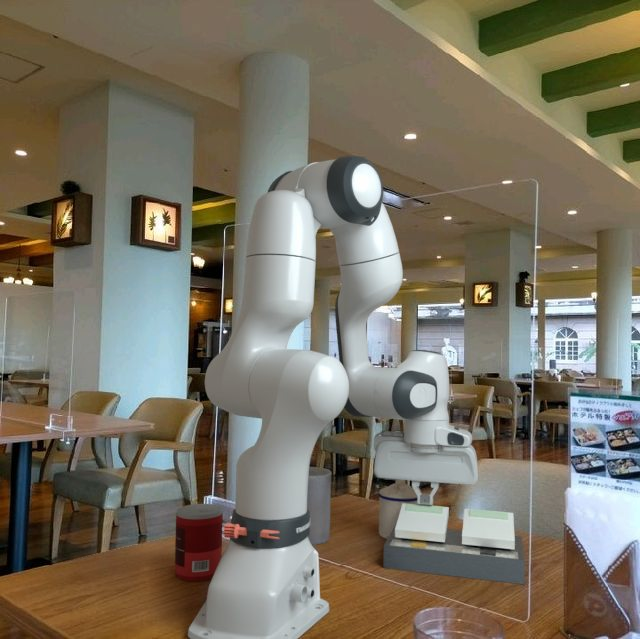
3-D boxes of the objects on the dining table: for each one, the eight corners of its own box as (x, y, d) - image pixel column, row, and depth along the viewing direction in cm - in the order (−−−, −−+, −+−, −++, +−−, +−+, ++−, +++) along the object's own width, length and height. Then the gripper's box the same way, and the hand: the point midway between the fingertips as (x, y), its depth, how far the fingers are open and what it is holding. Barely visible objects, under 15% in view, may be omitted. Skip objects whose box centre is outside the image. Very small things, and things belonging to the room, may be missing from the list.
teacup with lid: (430, 539, 129) (430, 482, 129) (391, 544, 125) (392, 485, 125) (399, 523, 140) (400, 471, 140) (363, 527, 136) (364, 473, 136)
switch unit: (524, 584, 105) (524, 551, 105) (383, 567, 112) (384, 537, 112) (521, 557, 119) (521, 528, 119) (395, 544, 125) (395, 516, 125)
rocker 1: (444, 542, 112) (444, 532, 112) (395, 537, 115) (394, 527, 114) (448, 514, 122) (448, 505, 121) (402, 510, 124) (402, 501, 124)
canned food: (230, 571, 109) (231, 507, 109) (199, 586, 102) (201, 518, 102) (196, 562, 113) (198, 501, 113) (164, 576, 106) (166, 510, 106)
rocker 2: (514, 549, 109) (514, 539, 109) (461, 544, 111) (461, 534, 111) (513, 520, 118) (513, 511, 118) (464, 516, 121) (464, 507, 121)
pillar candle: (273, 536, 129) (275, 463, 129) (310, 527, 135) (311, 458, 135) (302, 549, 121) (304, 471, 122) (340, 539, 128) (341, 466, 128)
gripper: (370, 432, 122) (369, 503, 122) (478, 438, 117) (477, 512, 116) (376, 428, 128) (375, 495, 128) (479, 433, 123) (478, 504, 122)
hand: (425, 504), depth 122 cm, fingers closed
